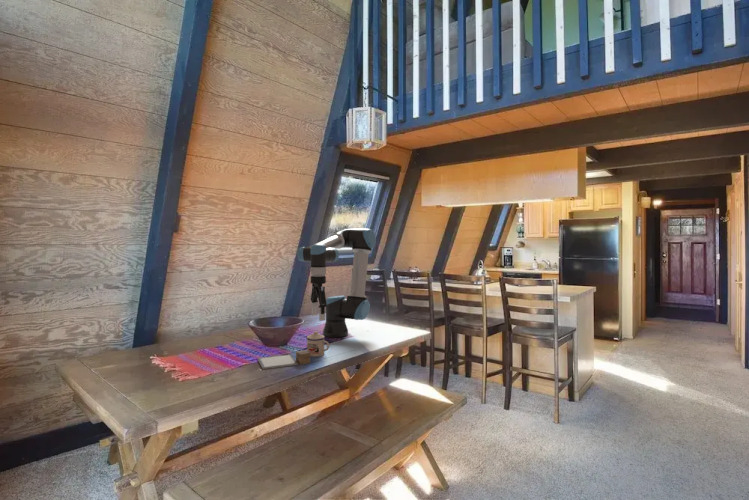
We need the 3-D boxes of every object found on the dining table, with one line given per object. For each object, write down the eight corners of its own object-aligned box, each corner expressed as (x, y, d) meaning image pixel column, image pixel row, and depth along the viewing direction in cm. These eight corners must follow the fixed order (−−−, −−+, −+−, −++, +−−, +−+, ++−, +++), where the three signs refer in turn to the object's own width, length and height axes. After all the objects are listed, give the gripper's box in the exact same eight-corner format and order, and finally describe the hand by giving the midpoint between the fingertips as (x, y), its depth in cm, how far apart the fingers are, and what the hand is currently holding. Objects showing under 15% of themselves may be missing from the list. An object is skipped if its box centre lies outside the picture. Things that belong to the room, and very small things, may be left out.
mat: (257, 359, 200) (257, 357, 200) (290, 355, 206) (290, 354, 206) (262, 369, 185) (262, 367, 185) (298, 364, 192) (298, 363, 192)
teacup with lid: (303, 355, 206) (303, 332, 205) (312, 351, 214) (312, 328, 214) (324, 358, 201) (324, 335, 201) (333, 353, 210) (333, 330, 209)
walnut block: (296, 362, 196) (296, 351, 196) (305, 360, 199) (305, 350, 199) (300, 364, 192) (300, 354, 192) (310, 363, 195) (310, 352, 195)
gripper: (304, 273, 216) (304, 313, 217) (317, 278, 193) (317, 323, 194) (318, 273, 219) (318, 312, 220) (333, 277, 196) (333, 322, 197)
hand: (318, 317), depth 207 cm, fingers open, 13 cm apart
